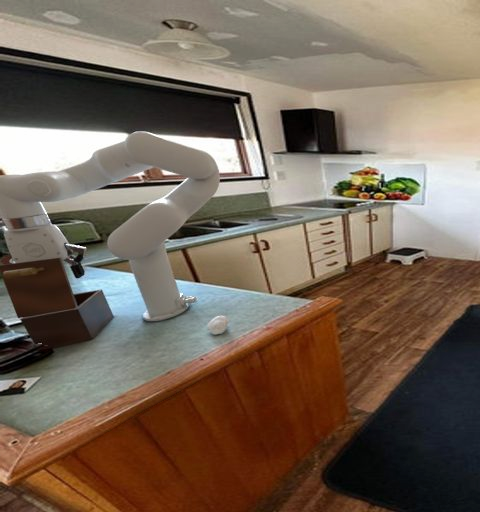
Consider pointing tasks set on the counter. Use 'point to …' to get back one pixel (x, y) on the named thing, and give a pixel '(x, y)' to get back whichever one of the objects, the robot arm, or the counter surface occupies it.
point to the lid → (38, 287)
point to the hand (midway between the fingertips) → (58, 280)
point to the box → (70, 321)
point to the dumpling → (218, 325)
